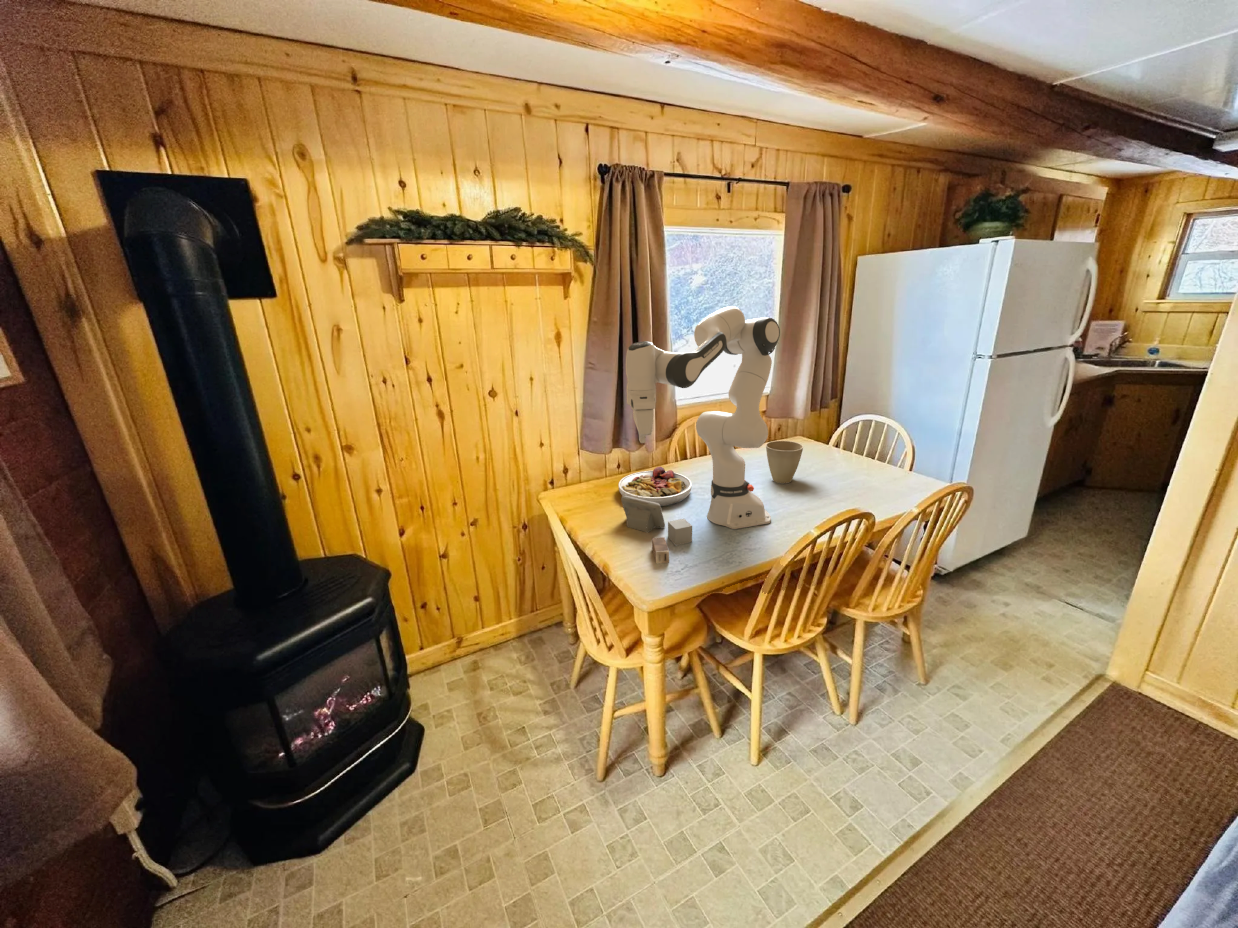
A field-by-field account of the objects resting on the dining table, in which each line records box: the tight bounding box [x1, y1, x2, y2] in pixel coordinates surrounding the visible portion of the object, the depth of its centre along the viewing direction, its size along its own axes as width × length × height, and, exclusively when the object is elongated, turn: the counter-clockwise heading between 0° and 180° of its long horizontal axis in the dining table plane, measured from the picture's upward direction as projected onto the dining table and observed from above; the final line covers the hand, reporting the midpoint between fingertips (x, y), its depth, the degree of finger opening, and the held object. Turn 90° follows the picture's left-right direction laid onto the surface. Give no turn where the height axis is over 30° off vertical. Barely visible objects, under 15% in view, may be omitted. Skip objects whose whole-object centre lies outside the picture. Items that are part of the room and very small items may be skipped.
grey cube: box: [667, 518, 693, 546], centre depth 159 cm, size 6×6×6 cm
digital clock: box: [621, 495, 666, 533], centre depth 169 cm, size 16×9×11 cm, turn 44°
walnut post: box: [651, 536, 670, 564], centre depth 150 cm, size 4×4×9 cm
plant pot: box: [765, 440, 804, 484], centre depth 203 cm, size 15×15×16 cm
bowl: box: [618, 466, 692, 507], centre depth 196 cm, size 30×30×8 cm
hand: (642, 441), depth 148 cm, fingers closed
